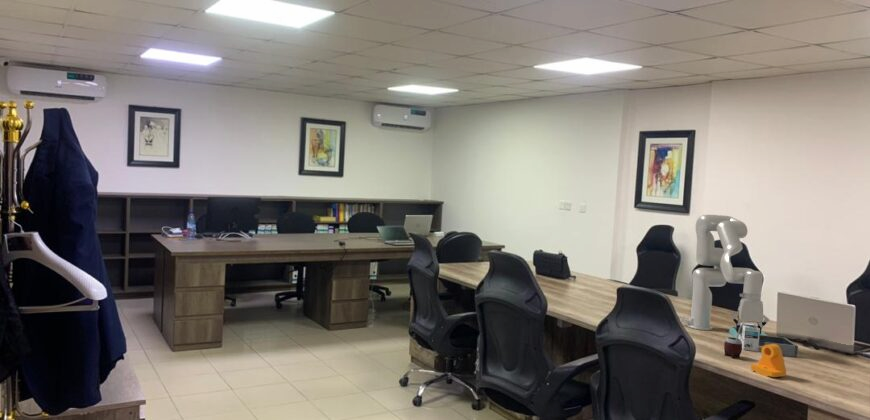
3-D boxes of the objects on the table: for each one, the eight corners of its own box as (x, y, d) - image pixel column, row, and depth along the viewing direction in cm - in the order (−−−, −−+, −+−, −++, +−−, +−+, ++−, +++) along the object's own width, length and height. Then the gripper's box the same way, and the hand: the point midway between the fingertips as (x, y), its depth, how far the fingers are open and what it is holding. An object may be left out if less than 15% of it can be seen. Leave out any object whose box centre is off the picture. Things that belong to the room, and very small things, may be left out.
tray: (739, 341, 304) (739, 334, 303) (728, 332, 321) (729, 326, 321) (770, 344, 301) (770, 337, 301) (758, 336, 319) (758, 329, 318)
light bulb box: (758, 351, 287) (760, 328, 286) (742, 350, 288) (745, 327, 287) (751, 345, 297) (753, 323, 296) (736, 344, 298) (738, 321, 298)
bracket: (749, 370, 255) (751, 341, 254) (761, 369, 258) (764, 340, 257) (773, 379, 245) (776, 349, 244) (785, 377, 248) (788, 348, 247)
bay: (764, 353, 284) (765, 342, 283) (752, 344, 300) (753, 334, 299) (797, 357, 281) (798, 346, 281) (783, 347, 297) (784, 337, 297)
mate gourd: (723, 357, 273) (727, 323, 272) (722, 352, 280) (725, 319, 279) (742, 360, 270) (746, 326, 269) (741, 355, 277) (744, 322, 277)
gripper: (734, 296, 289) (730, 334, 290) (774, 300, 286) (771, 338, 287) (729, 293, 297) (726, 330, 298) (769, 297, 293) (765, 334, 294)
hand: (748, 334), depth 292 cm, fingers open, 8 cm apart
